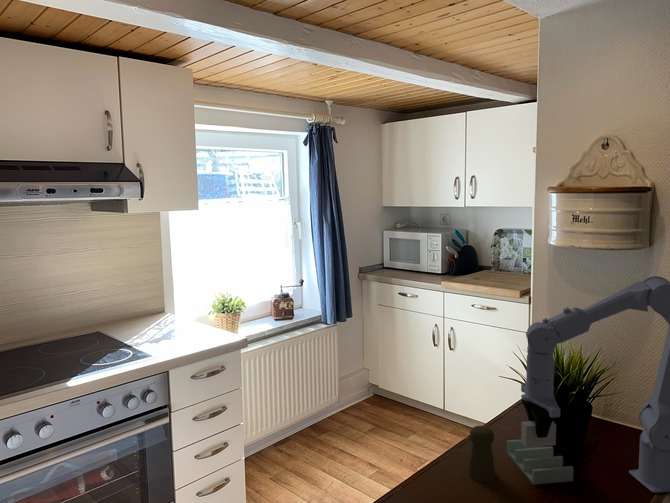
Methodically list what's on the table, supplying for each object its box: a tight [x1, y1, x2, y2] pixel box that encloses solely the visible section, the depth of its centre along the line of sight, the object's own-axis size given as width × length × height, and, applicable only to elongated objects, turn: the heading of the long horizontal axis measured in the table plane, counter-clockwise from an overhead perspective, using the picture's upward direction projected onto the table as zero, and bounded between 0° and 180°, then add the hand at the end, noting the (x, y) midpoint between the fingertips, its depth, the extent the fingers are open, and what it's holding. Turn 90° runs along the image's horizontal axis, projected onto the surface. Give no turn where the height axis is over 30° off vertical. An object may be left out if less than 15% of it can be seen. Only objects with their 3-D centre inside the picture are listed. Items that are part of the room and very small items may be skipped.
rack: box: [506, 438, 574, 485], centre depth 119 cm, size 9×14×3 cm, turn 5°
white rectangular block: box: [520, 420, 557, 447], centre depth 118 cm, size 7×2×5 cm, turn 95°
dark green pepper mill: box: [467, 425, 496, 483], centre depth 116 cm, size 6×6×11 cm
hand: (538, 433), depth 118 cm, fingers closed on white rectangular block, 2 cm apart
